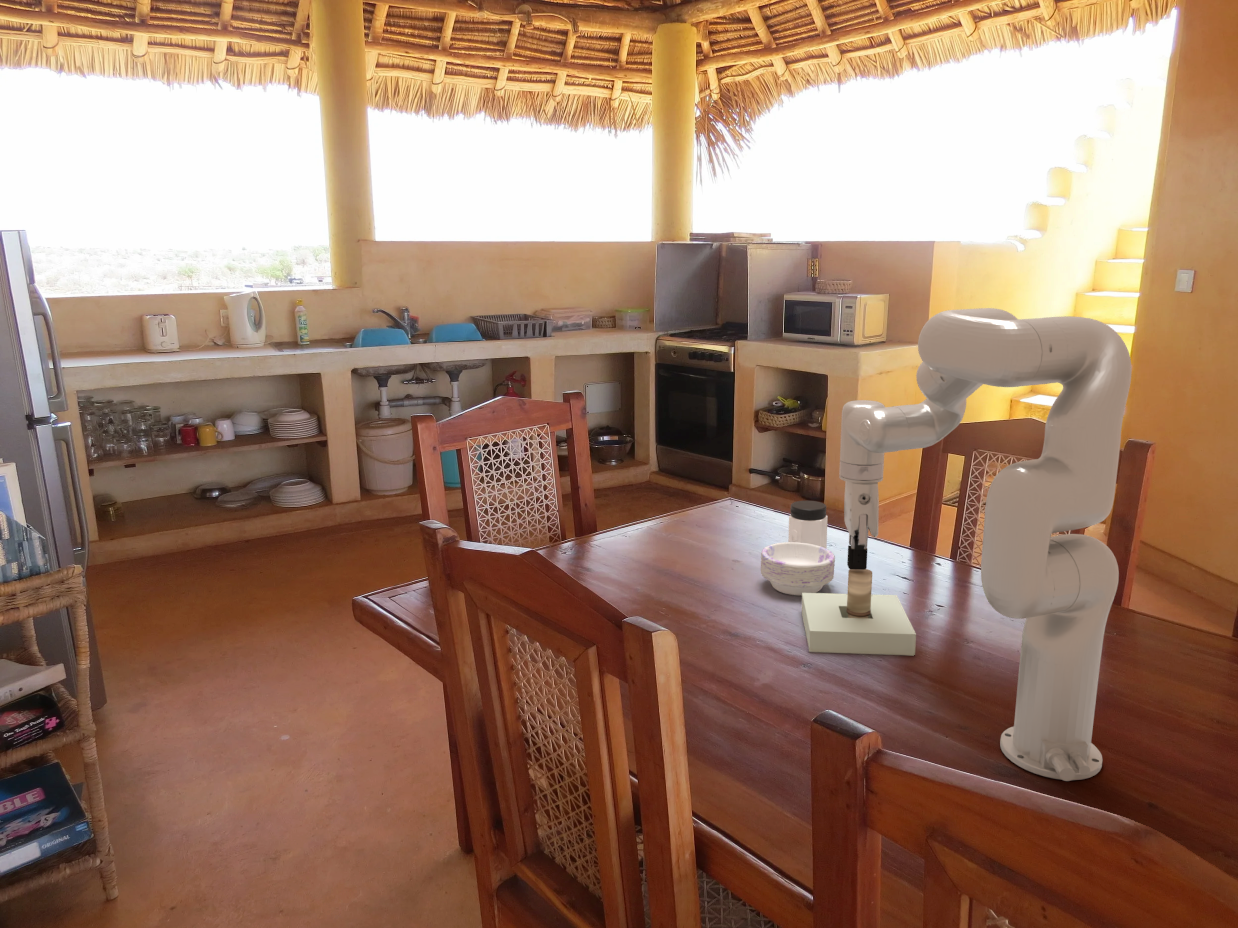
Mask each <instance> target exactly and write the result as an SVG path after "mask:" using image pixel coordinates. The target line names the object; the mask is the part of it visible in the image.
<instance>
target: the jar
mask: <svg viewBox="0 0 1238 928" xmlns="http://www.w3.org/2000/svg"><path fill="white" fill-rule="evenodd" d="M789 513H790V515H789V516H788V538H787V539H788V542H798V543H807V544H813V545H817V546H820V547H823V548H826V549H827V547H828V545H827V544H828V515H827V505H826V503H824V502H821V501H818V500H817V501H816V500H797V501H794V502H792V503H791V504H790V512H789Z"/></svg>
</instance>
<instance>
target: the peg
mask: <svg viewBox="0 0 1238 928" xmlns="http://www.w3.org/2000/svg"><path fill="white" fill-rule="evenodd" d="M847 574H848V577H847V578H848V579H847V593H846V594H847V610H846V612H847V613H848V618H868V616H869V615H870V614H871V595H872V588H873V587H872V586H873V571H872V570H871V569H868V568H866V569H865V570H858V569H848V571H847Z"/></svg>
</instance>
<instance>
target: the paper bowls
mask: <svg viewBox="0 0 1238 928" xmlns="http://www.w3.org/2000/svg"><path fill="white" fill-rule="evenodd" d="M835 559H836V557H835V555H834V553H833V552H832V551H831V550H829V549H826V548H823V547H820V546H817V545H813V544H807V543H798V542H787V541H786V542H784V541H783V542H777V543H772V544H769V545H767V546H765V547H764V548H763V549H762V551H761V553H760V574H761V575H762V577H763V578H764V579H766V580H767V581H769V583H770V584H771V586H772V587H773V589H775V590H776V591H778V592H780V593H783V594H786V595H790V596H797V597H798V596H801V597H802V593H819V592H820V591H821V590H822V589H823V587H824V586H825V585H828V584H829V583H830V582H832V581H833V580H834V577H835V561H836V560H835Z"/></svg>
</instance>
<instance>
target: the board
mask: <svg viewBox="0 0 1238 928" xmlns="http://www.w3.org/2000/svg"><path fill="white" fill-rule="evenodd" d="M847 594H848V593H827V592H826V593H823V592H816V593H802V596H801V615H802V616H801V617H802V620H803V627H804V631H805V636H806V641H807V645H808V651H809V653H826V654H827V653H830V654H834V653H835V654H858V655H861V654H862V655H887V656H888V655H889V656H891V655H892V656H893V655H894V656H913V657H914V655H915V656H916V644H917V643H916V642H917V633H916V631H915V629H914V627H913V625H912V623H911V621H910V620H909V617H908V615H907V613H906V611H905V609H904V607H903V605H902V603H901V601H900V599H899V597H898V595H897V594H871V614H870V615H869V616H868V618H848V613H847V612H846V610H847Z"/></svg>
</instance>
